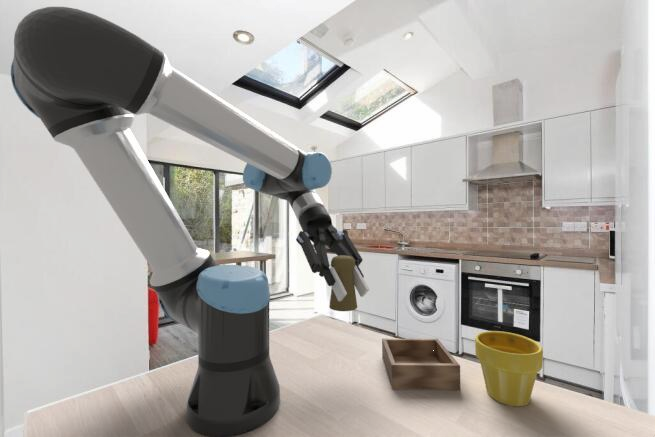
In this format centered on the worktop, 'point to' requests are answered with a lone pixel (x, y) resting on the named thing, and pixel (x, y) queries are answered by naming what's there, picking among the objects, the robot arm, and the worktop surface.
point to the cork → (344, 283)
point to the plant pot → (508, 365)
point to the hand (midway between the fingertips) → (354, 295)
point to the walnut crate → (420, 364)
